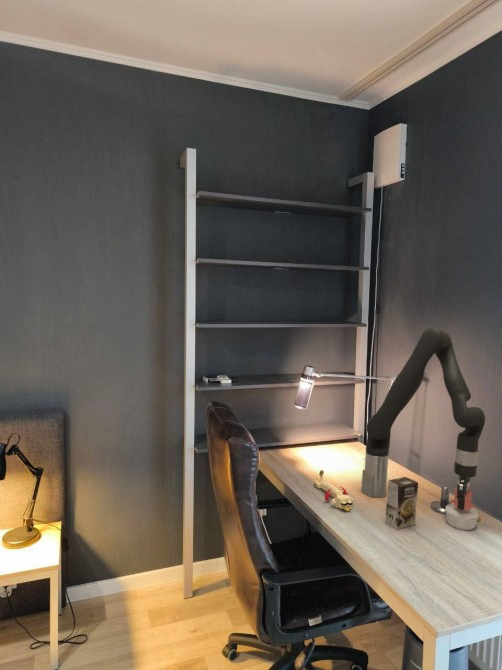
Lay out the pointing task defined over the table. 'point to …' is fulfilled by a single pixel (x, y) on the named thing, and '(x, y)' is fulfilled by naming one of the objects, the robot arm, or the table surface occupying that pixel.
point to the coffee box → (401, 502)
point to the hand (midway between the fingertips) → (462, 505)
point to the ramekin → (461, 517)
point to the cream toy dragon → (335, 494)
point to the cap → (467, 500)
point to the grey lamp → (442, 500)
